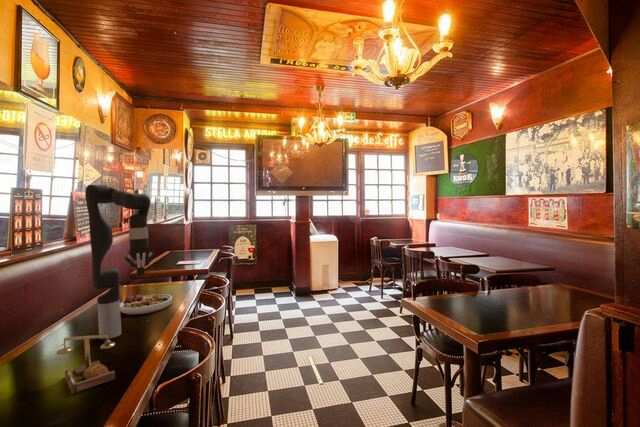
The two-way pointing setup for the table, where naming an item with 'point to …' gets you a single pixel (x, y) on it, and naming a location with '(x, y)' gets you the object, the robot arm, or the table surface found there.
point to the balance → (81, 369)
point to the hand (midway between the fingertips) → (140, 275)
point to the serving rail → (87, 381)
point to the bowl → (145, 303)
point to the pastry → (95, 371)
